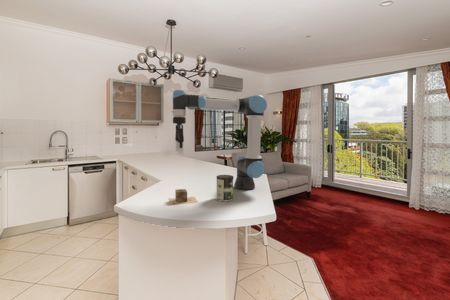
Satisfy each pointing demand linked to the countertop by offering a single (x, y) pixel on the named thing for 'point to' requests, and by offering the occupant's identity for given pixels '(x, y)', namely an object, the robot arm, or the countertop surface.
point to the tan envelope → (189, 200)
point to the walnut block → (181, 195)
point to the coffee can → (224, 188)
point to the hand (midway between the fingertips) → (179, 152)
